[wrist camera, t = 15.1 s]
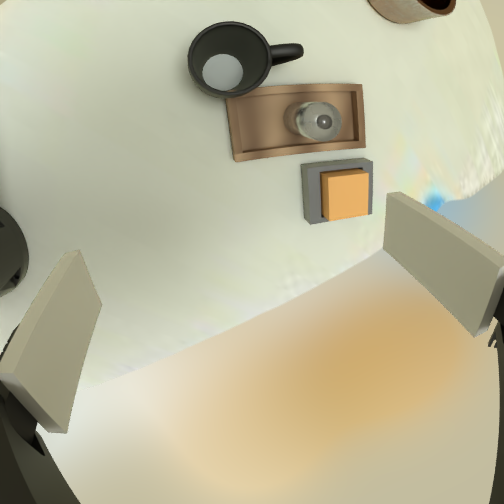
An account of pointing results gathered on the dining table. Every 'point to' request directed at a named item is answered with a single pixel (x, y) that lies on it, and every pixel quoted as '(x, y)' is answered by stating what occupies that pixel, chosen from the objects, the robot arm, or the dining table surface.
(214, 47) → the mug
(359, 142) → the wooden tray
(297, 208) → the dining table surface
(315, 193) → the frame
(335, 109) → the cell
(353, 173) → the orange square block
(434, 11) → the planter
